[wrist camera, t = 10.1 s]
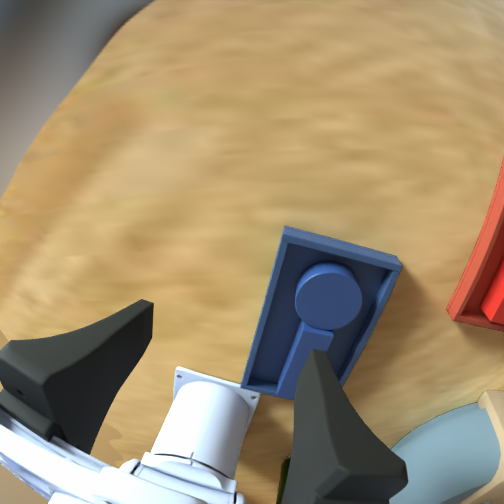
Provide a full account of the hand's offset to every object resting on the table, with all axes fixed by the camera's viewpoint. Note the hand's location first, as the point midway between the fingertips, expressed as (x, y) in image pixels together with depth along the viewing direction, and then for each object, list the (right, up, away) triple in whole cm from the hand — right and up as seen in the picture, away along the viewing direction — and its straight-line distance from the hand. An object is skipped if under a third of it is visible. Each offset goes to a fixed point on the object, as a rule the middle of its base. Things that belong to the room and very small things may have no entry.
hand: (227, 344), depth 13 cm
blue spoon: (+6, -1, +9) cm, 11 cm away
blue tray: (+6, -2, +10) cm, 11 cm away
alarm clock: (+26, -20, +14) cm, 36 cm away
